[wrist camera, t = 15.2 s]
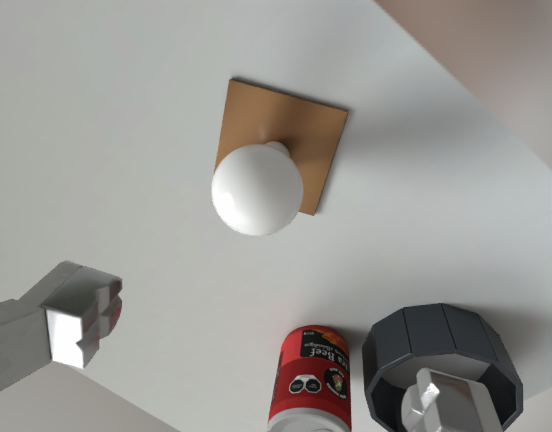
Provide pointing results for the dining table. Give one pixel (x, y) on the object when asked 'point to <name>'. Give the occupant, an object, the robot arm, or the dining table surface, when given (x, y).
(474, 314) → the dark grey polygonal container
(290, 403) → the canned food
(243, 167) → the lightbulb
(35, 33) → the dining table surface
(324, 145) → the coaster
